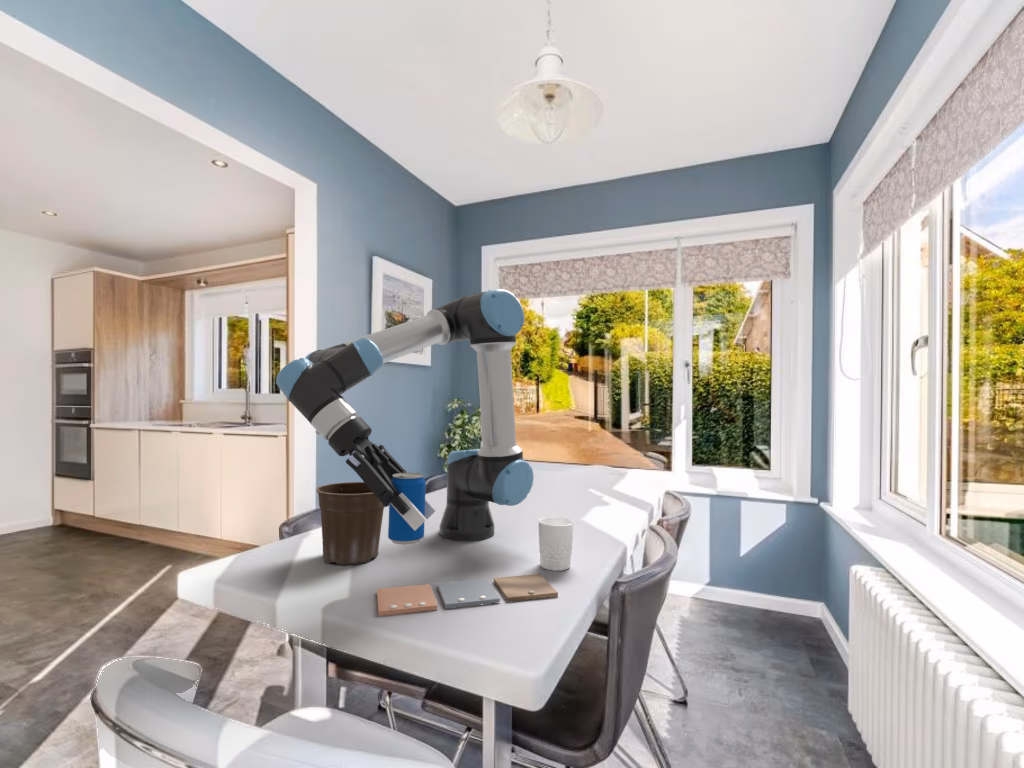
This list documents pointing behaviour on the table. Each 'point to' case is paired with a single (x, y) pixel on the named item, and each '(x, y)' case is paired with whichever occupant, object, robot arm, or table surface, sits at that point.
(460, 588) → the two-dot tile
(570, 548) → the white cup
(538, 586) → the one-dot tile
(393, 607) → the three-dot tile
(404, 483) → the beverage can
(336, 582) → the table surface
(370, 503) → the plant pot
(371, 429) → the robot arm
